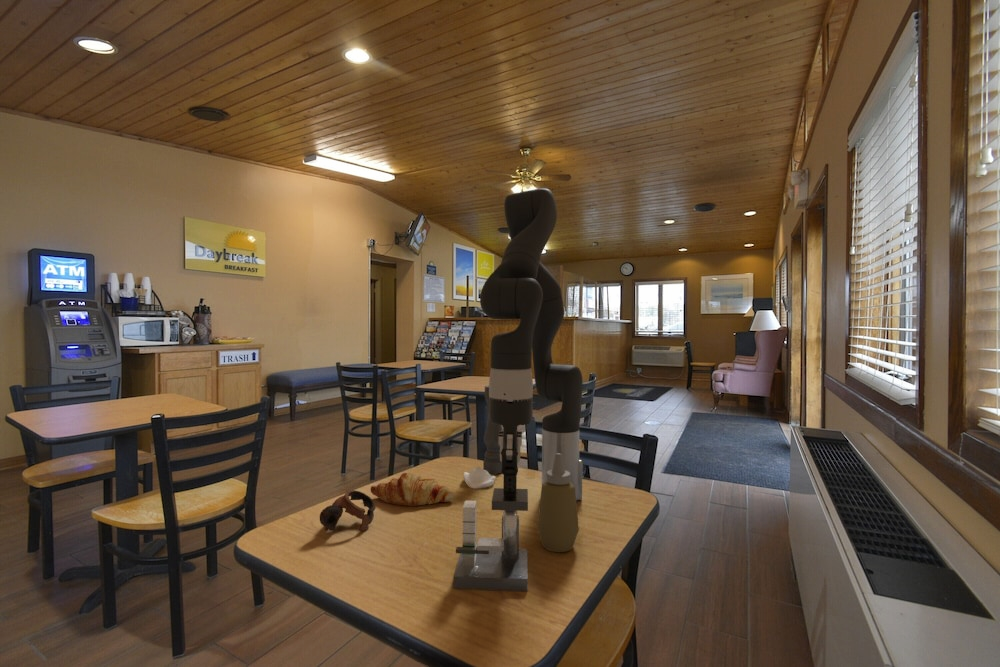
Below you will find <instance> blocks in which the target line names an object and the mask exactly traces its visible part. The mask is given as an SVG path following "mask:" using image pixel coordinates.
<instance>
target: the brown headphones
mask: <svg viewBox="0 0 1000 667" xmlns="http://www.w3.org/2000/svg"><path fill="white" fill-rule="evenodd" d="M352 501H362V502H363V507H366V508H368V509H367V512H366V510H365V508H363V507H360V506H359V505H356V504H355V503H354V502H352ZM344 509H345V511H344ZM375 510H376V504H375V502H374V500H373V499H372V497H370V496H369V495H367V494H366V493H365V492H362V491H359V490H348V491H346V492H345V494H344V495H342V496H340V497H338V498H336V499H335V500H334V502H333V503H332V504H331V505H328V506H326V507H325V508H323V509H322V511H321V512H320V514H319V521H320V524H321V526H323V527H324V529H325V531H328V530H329V531H335V530H336V527H337V525H338V522H339V521H340V518H342V515H343V512H345V513H347V514H350V515H351V516H354V517H356V518H357V519H359V520H361V524H360V527H359V531H360V532H365V531H367V528H368V527H369V525H370V524H372V522H373V520H374V516H375V512H374V511H375Z"/></svg>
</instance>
